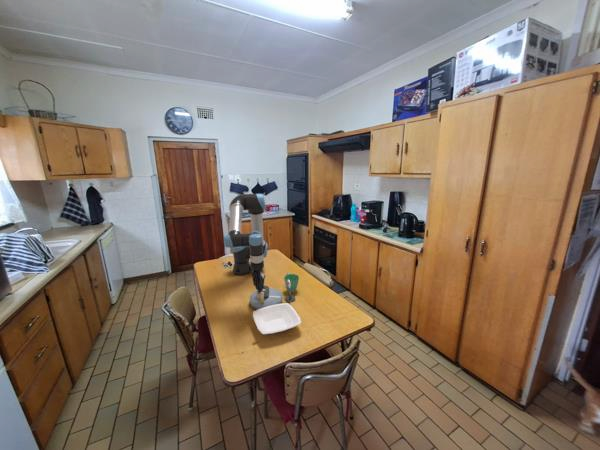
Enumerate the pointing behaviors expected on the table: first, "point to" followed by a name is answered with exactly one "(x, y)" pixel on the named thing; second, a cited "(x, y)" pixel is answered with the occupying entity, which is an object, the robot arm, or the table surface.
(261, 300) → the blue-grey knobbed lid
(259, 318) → the bowl
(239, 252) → the robot arm
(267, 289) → the cover
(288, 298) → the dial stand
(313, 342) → the table surface
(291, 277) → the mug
